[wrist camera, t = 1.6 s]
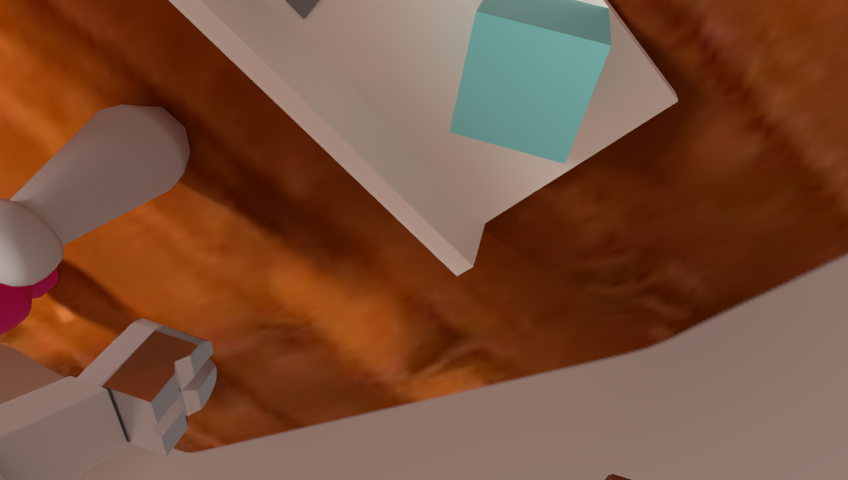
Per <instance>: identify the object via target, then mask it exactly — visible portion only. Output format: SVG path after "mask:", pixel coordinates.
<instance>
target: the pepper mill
mask: <svg viewBox="0 0 848 480" xmlns="http://www.w3.org/2000/svg"><path fill="white" fill-rule="evenodd" d="M58 279H59V273H58V269H57V267H56V269H55V270H54V271H52V272H51V273H50V274H49V275H48V276H47V277H46V278H44V279H42V280H41V281H39V282H37V283H35V284H34V285H28V286H9V285H6V284H2V283H0V335H1V334H3V333H5V332H7V331H9V330H11V329H12V328H14V327H15V326H16V325H18V324H19V323H20V322H22V321H23V320H24V319H25V318H26V317H27V316H28V314H29V312H30V310H31V304H32V298H38V297H41V296H43V295H44V294H45V293H46V292H47V291H49V290H50V289H51V288H52V287H53V286H54V285H55V284H56V283H57V282H58Z"/></svg>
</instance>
